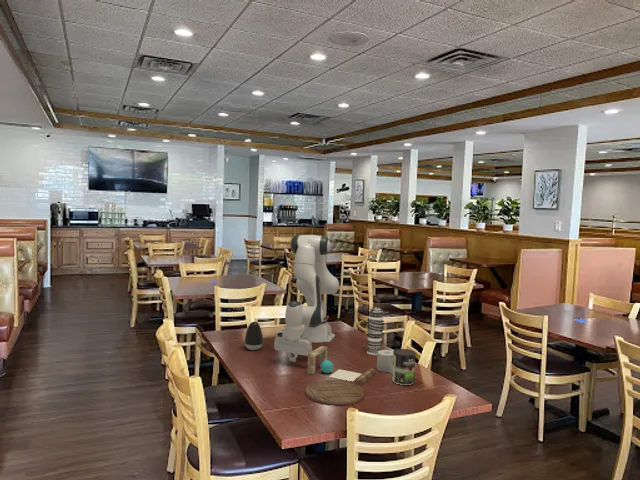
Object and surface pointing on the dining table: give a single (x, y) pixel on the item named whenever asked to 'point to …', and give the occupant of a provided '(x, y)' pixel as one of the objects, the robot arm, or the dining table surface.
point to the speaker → (253, 336)
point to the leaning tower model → (375, 330)
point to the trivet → (334, 392)
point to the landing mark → (345, 375)
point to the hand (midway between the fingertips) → (292, 361)
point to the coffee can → (403, 366)
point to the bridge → (312, 358)
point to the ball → (326, 366)
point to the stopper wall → (364, 377)
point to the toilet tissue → (385, 361)
